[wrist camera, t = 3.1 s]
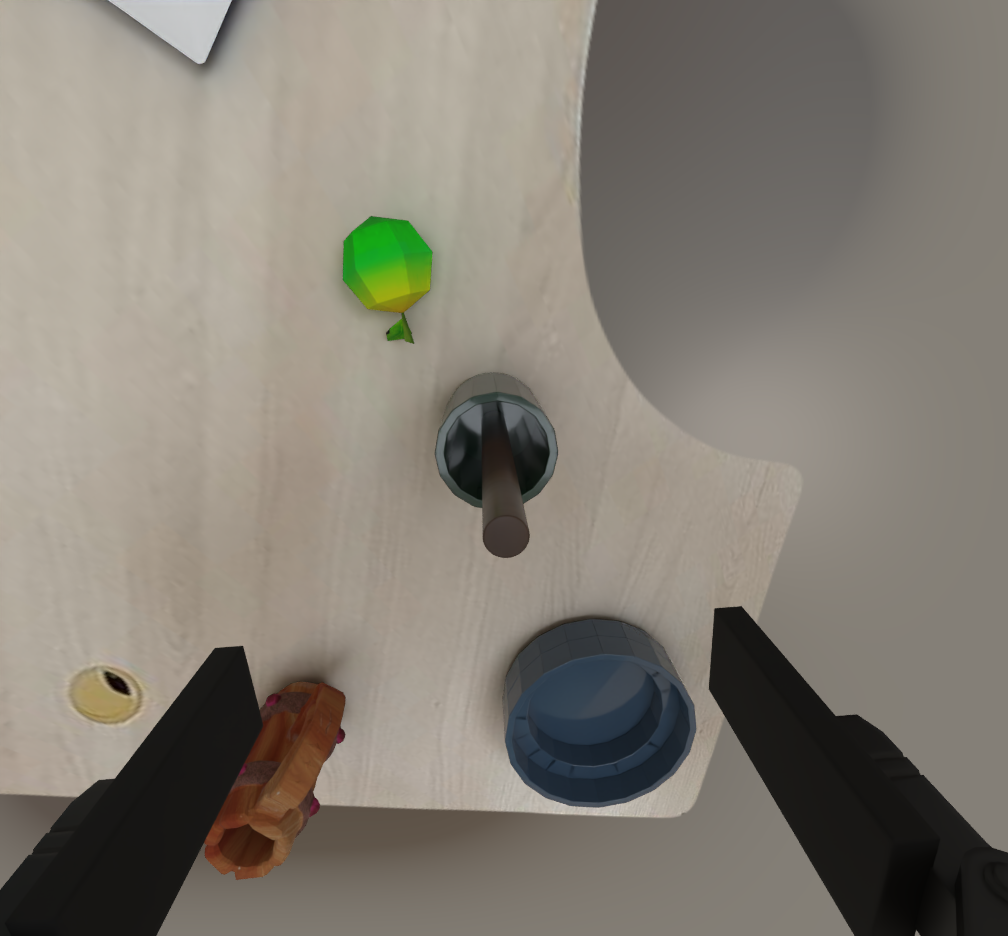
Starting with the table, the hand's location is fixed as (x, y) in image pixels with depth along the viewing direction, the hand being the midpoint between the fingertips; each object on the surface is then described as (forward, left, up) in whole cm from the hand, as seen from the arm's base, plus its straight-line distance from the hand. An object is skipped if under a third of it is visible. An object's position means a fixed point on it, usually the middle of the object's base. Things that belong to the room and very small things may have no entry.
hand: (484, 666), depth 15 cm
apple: (+4, -12, -31) cm, 33 cm away
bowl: (-5, +29, -31) cm, 42 cm away
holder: (-1, 0, -31) cm, 31 cm away
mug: (+21, +23, -31) cm, 44 cm away
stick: (-1, 0, -30) cm, 30 cm away
